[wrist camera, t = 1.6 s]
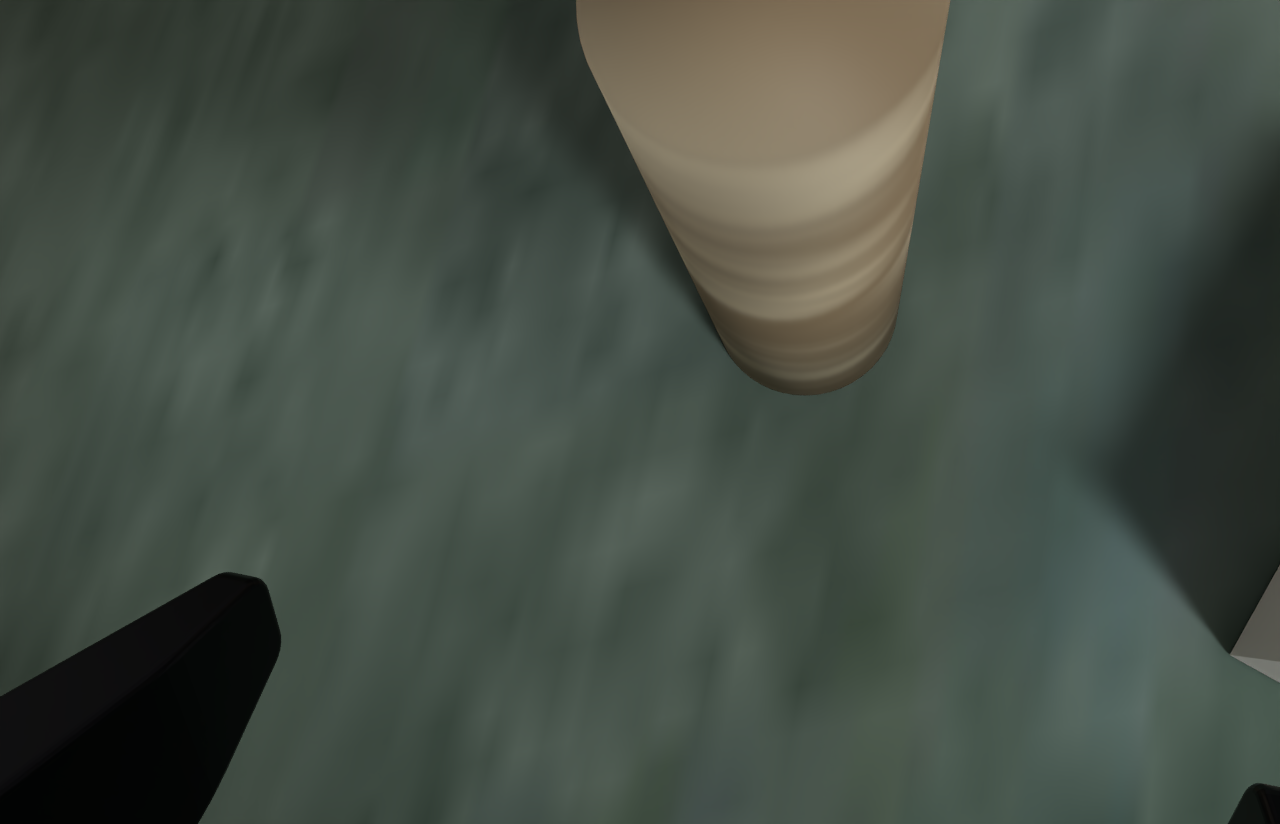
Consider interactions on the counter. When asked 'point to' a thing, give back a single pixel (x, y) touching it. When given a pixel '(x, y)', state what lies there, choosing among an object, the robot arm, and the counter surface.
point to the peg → (779, 162)
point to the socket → (1263, 634)
